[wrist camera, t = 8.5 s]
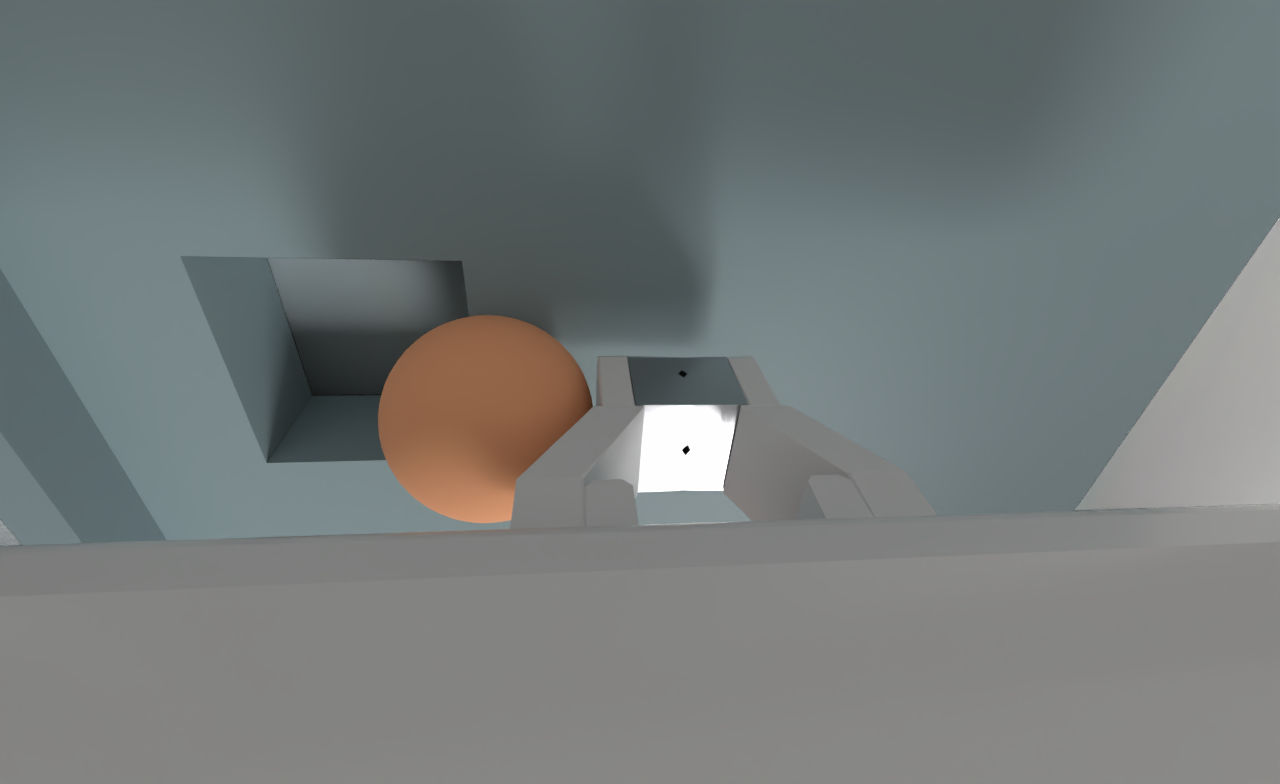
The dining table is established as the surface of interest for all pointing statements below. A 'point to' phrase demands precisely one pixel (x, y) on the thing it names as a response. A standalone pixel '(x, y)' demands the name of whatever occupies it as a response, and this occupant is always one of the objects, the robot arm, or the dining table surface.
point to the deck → (612, 228)
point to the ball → (477, 412)
